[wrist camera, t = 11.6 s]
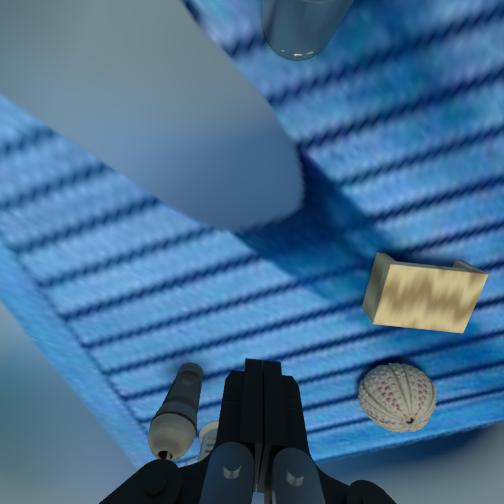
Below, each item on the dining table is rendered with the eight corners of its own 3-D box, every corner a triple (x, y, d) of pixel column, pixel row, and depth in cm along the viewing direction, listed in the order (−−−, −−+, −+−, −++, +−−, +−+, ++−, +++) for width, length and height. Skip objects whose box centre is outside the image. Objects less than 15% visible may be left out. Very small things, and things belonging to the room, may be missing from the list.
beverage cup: (193, 351, 51) (154, 466, 32) (217, 376, 53) (193, 499, 34) (165, 368, 53) (111, 488, 34) (189, 392, 54) (151, 518, 36)
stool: (390, 264, 39) (488, 274, 39) (376, 252, 43) (464, 261, 43) (373, 323, 42) (463, 333, 42) (361, 306, 47) (442, 315, 47)
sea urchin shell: (409, 414, 55) (432, 456, 47) (344, 402, 54) (357, 443, 47) (437, 362, 50) (468, 399, 43) (366, 349, 50) (385, 384, 42)
